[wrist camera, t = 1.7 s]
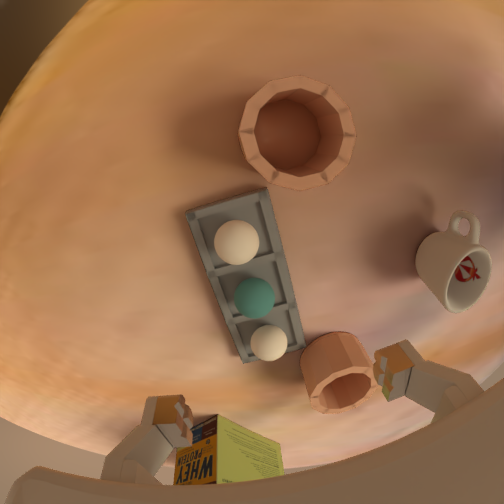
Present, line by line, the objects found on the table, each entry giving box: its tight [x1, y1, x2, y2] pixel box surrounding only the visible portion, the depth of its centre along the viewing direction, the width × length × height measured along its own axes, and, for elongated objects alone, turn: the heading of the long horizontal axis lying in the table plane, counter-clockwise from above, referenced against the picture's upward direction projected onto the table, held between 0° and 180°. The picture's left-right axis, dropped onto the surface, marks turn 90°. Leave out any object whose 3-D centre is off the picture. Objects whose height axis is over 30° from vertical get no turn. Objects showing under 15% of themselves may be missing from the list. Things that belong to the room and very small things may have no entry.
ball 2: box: [234, 278, 275, 319], centre depth 28 cm, size 4×4×4 cm
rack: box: [185, 187, 306, 364], centre depth 30 cm, size 19×8×2 cm, turn 15°
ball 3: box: [250, 325, 287, 361], centre depth 30 cm, size 4×4×4 cm
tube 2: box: [300, 332, 378, 414], centre depth 33 cm, size 9×9×7 cm
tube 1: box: [238, 75, 357, 191], centre depth 22 cm, size 9×9×7 cm
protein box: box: [173, 415, 284, 485], centre depth 35 cm, size 10×15×16 cm
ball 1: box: [214, 220, 259, 265], centre depth 26 cm, size 4×4×4 cm
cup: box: [415, 210, 492, 313], centre depth 27 cm, size 11×8×8 cm
